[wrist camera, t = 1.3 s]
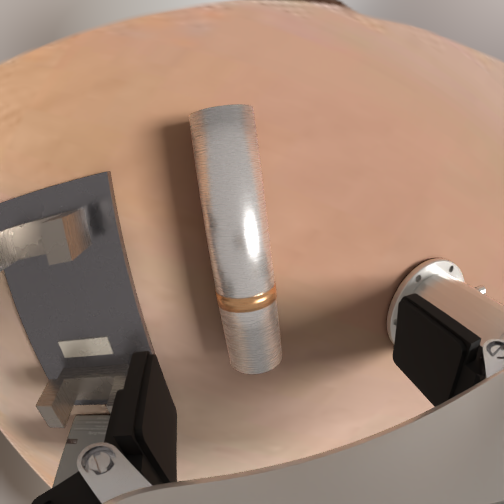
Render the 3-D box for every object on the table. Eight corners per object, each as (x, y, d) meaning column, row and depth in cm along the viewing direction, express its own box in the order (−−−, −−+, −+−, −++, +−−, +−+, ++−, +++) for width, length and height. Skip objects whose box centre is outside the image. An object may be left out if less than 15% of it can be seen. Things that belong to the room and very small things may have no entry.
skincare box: (129, 411, 31) (111, 522, 16) (149, 446, 33) (143, 547, 18) (71, 413, 30) (39, 510, 15) (94, 447, 32) (75, 538, 17)
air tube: (189, 121, 24) (187, 110, 19) (248, 113, 25) (259, 101, 20) (226, 348, 31) (233, 379, 26) (275, 339, 31) (289, 367, 26)
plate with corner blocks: (110, 171, 24) (79, 174, 17) (169, 393, 31) (166, 443, 24) (-6, 205, 23) (-52, 220, 16) (65, 399, 30) (47, 441, 23)
